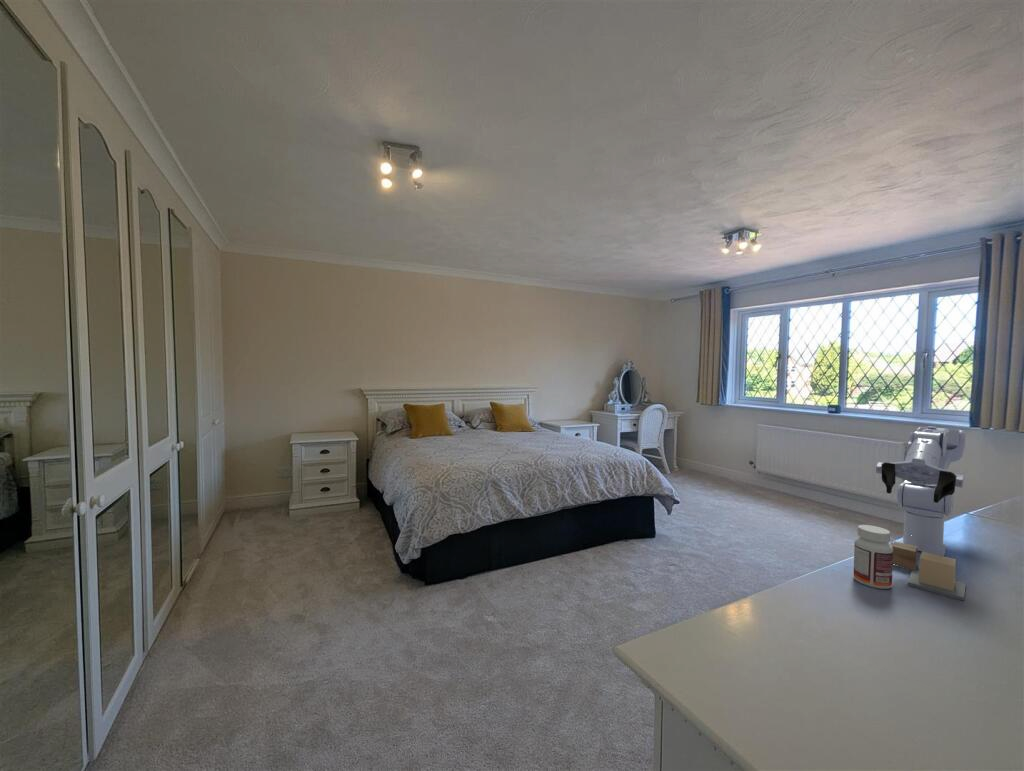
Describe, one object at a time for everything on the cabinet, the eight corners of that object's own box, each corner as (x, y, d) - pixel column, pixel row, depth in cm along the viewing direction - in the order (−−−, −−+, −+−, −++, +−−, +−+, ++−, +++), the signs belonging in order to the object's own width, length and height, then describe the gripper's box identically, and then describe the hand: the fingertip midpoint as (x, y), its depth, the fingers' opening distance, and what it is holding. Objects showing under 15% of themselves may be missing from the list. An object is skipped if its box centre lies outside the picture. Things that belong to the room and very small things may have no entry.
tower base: (912, 571, 94) (913, 546, 93) (965, 585, 88) (966, 559, 87) (907, 584, 88) (908, 558, 87) (963, 600, 82) (965, 572, 81)
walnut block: (891, 558, 100) (892, 540, 100) (916, 565, 97) (917, 546, 97) (888, 564, 98) (889, 545, 97) (914, 571, 94) (915, 551, 94)
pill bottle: (893, 583, 88) (895, 529, 88) (890, 593, 84) (892, 537, 84) (855, 572, 93) (857, 521, 92) (850, 582, 88) (852, 528, 88)
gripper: (881, 442, 106) (869, 471, 98) (966, 453, 95) (960, 487, 87) (881, 466, 108) (869, 496, 100) (964, 480, 97) (958, 515, 89)
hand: (911, 494), depth 94 cm, fingers open, 7 cm apart
